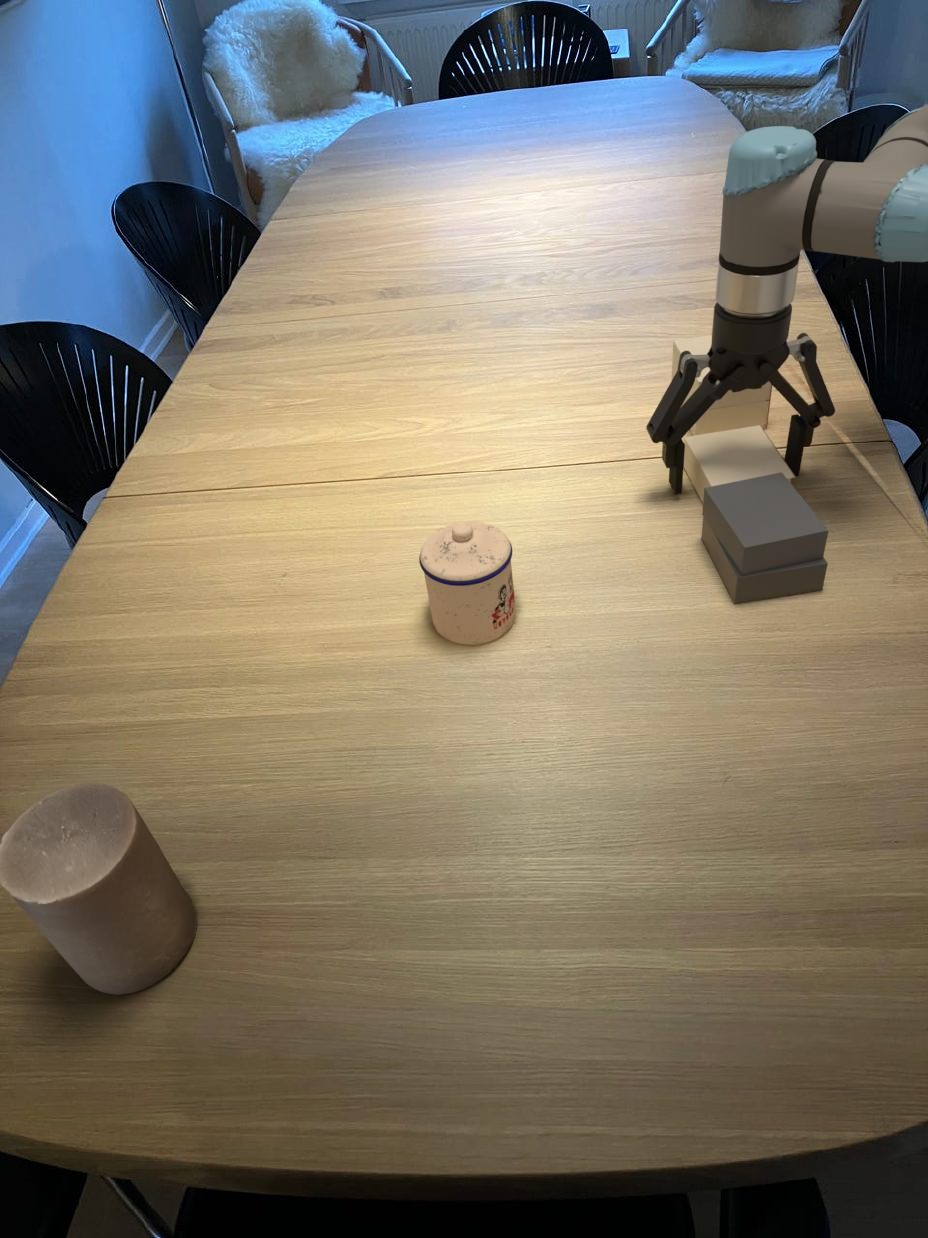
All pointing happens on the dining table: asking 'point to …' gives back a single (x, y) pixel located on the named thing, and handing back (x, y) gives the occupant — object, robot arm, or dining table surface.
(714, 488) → the grey books
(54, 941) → the pillar candle
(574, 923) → the dining table surface
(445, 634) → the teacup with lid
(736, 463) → the cream book
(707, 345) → the cream books
